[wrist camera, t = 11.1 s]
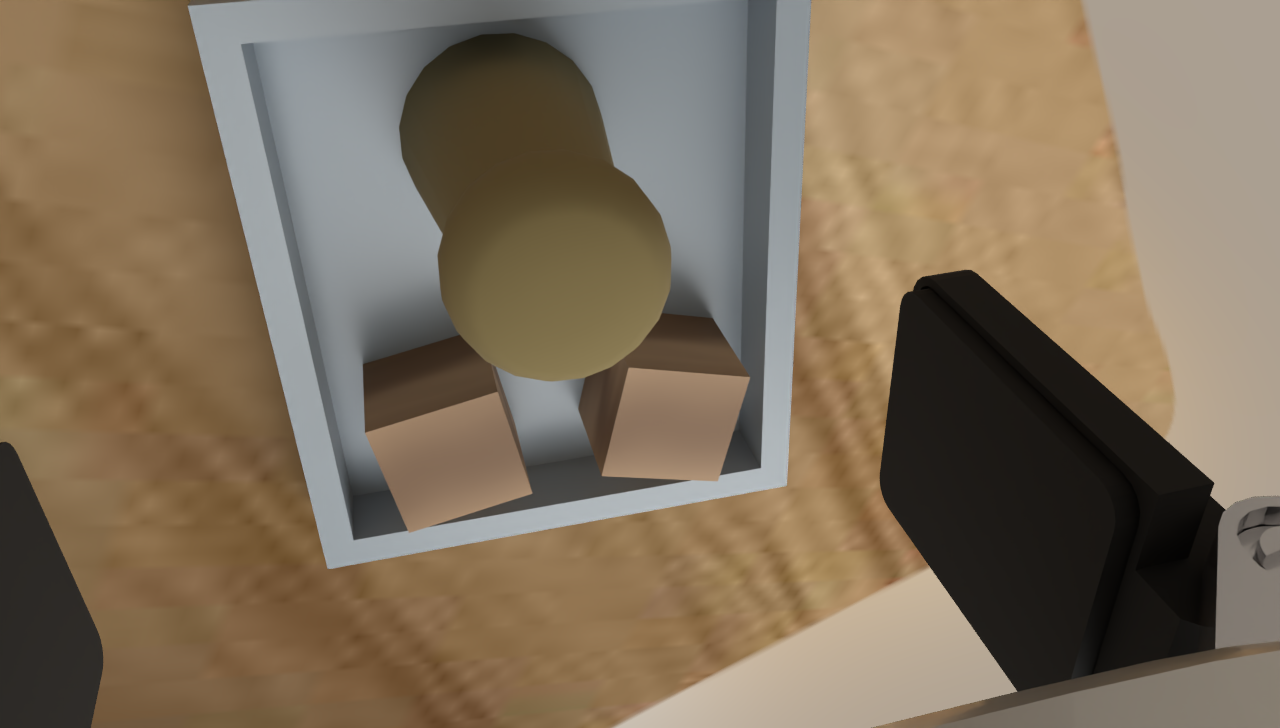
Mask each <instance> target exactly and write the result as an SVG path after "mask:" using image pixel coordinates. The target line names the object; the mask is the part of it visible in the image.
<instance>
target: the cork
mask: <svg viewBox="0 0 1280 728" xmlns="http://www.w3.org/2000/svg"><path fill="white" fill-rule="evenodd" d="M399 132H400V141H401V151H402V159H403V161H404V163H405V165H406V168H407V170H408V172H409V174H410V176H411V179H412V181H413V183H414V185H415V187H416V189H417V191H418V192H419V194H420V196H421V198H422V199H423V201H424V203H425V205H426V206H427V208H428V210H429V211H430V213H431V215H432V217H433V218H434V220H435V222H436V224H437V225H438V227H439V229H440V231H441V232H442V234H443V235H442V239H441V243H440V247H439V250H438V254H437V257H438V268H439V280H440V290H441V297H442V301H443V303H444V306H445V308H446V310H447V312H448V314H449V316H450V318H451V320H452V322H453V325H454V327H455V329H456V331H457V332H458V333H459V334H460V335H461V337H462V338H463V339H464V340H465V341H466V342H467V343H468V344H469V345H470V346H471V347H472V348H473V349H474V350H475V351H476V352H477V353H478V354H479V355H480V356H481V357H482V358H483V359H484V360H485V361H486V362H488V363H490V364H492V365H494V366H496V367H498V368H500V369H502V370H504V371H506V372H508V373H510V374H512V375H514V376H518V377H524V378H530V379H536V380H542V381H551V382H553V381H562V380H571V379H580V378H585V377H587V376H590V375H592V374H595V373H597V372H600V371H602V370H605V369H608V368H610V367H612V366H613V365H615V364H616V363H617V362H619V361H620V360H621V359H623V358H624V357H625V356H627V355H628V354H630V353H631V352H632V351H634V350H635V349H636V348H637V347H638V346H639V345H640V344H641V342H642V341H643V340H644V339H645V337H646V336H647V335H648V333H649V332H650V331H651V329H652V328H653V327H654V325H655V324H656V323H657V322H658V320H659V319H660V316H661V313H662V310H663V308H664V305H665V302H666V300H667V297H668V294H669V292H670V285H671V246H670V243H669V239H668V236H667V233H666V230H665V227H664V224H663V220H662V217H661V215H660V213H659V212H658V210H657V209H656V208H655V206H654V205H653V204H652V202H651V201H650V200H649V198H648V197H647V196H646V195H645V193H644V192H643V191H642V189H641V188H640V187H639V185H638V184H637V183H636V182H635V180H634V179H633V178H631V177H630V176H628V175H626V174H625V173H623V172H622V171H620V170H619V169H617V168H616V167H614V163H613V159H612V155H611V151H610V147H609V143H608V139H607V135H606V131H605V127H604V123H603V119H602V115H601V112H600V109H599V106H598V103H597V100H596V97H595V94H594V91H593V88H592V85H591V84H590V83H589V81H588V80H587V79H586V77H585V76H584V75H583V73H582V72H581V71H580V69H579V68H578V67H577V65H576V64H575V63H574V61H573V60H571V59H570V58H568V57H567V56H565V55H564V54H563V53H561V52H560V51H558V50H557V49H555V48H554V47H552V46H551V45H549V44H548V43H547V42H543V41H540V40H536V39H533V38H529V37H526V36H523V35H519V34H516V33H507V34H482V35H479V36H476V37H473V38H471V39H468V40H465V41H463V42H460V43H457V44H455V45H452V46H450V47H448V48H447V49H446V50H445V51H443V52H442V53H441V54H440V55H439V56H437V57H436V58H435V59H434V60H432V61H431V62H430V63H429V64H428V65H426V66H425V67H424V68H423V70H422V71H421V73H420V74H419V76H418V78H417V79H416V81H415V82H414V84H413V86H412V87H411V89H410V90H409V92H408V94H407V95H406V99H405V103H404V108H403V112H402V116H401V120H400V125H399Z"/></svg>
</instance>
